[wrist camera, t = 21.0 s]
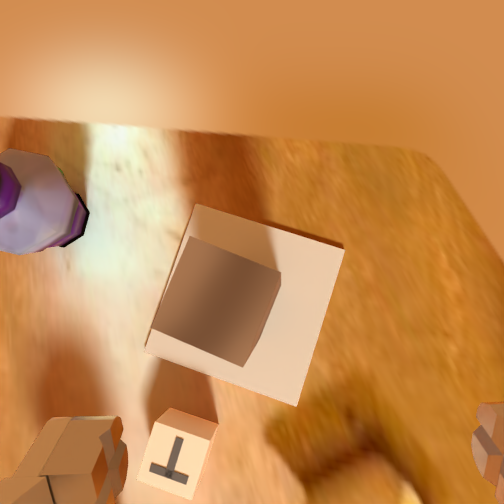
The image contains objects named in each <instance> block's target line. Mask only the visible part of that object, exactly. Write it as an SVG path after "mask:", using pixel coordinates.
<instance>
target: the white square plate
mask: <svg viewBox="0 0 504 504" xmlns="http://www.w3.org/2000/svg"><path fill="white" fill-rule="evenodd" d="M189 236H192V237H194V238H197V239H199V240H202V241H204V242H207V243H209V244H212V245H214V246H217V247H219V248H222V249H224V250H227V251H229V252H232V253H234V254H237V255H239V256H242V257H244V258H247V259H249V260H252V261H254V262H257V263H259V264H261V265H264V266H266V267H269V268H271V269H274V270H276V271H279V272H281V287H280V290H279V292H278V295H277V297H276V300H275V302H274V305H273V307H272V310H271V312H270V315H269V317H268V320H267V322H266V325H265V327H264V330H263V332H262V335H261V337H260V339H259V341H258V343H257V345H256V346H255V348H254V350H253V351H252V353H251V355H250V357H249V358H248V360H247V362H246V364H245V365H244V367H243V368H242V367H240V366H238V365H235V364H233V363H231V362H228V361H226V360H224V359H221V358H219V357H217V356H214V355H212V354H210V353H207V352H205V351H203V350H201V349H198V348H196V347H194V346H191V345H189V344H187V343H184V342H182V341H180V340H177V339H175V338H173V337H170V336H168V335H166V334H164V333H161V332H159V331H157V330H154V329H152V330H151V333H150V336H149V338H148V341H147V344H146V347H145V350H144V352H145V353H148V354H151V355H154V356H156V357H159V358H162V359H165V360H168V361H170V362H173V363H176V364H179V365H181V366H184V367H187V368H190V369H193V370H195V371H198V372H201V373H204V374H207V375H209V376H212V377H215V378H218V379H221V380H223V381H226V382H229V383H232V384H235V385H237V386H240V387H243V388H246V389H249V390H251V391H254V392H257V393H260V394H262V395H265V396H268V397H271V398H274V399H276V400H279V401H282V402H285V403H288V404H290V405H293V406H297V403H298V400H299V397H300V394H301V390H302V387H303V384H304V381H305V378H306V374H307V371H308V368H309V365H310V361H311V358H312V355H313V352H314V349H315V345H316V342H317V339H318V336H319V333H320V329H321V326H322V323H323V320H324V316H325V313H326V310H327V307H328V304H329V300H330V297H331V294H332V291H333V288H334V284H335V281H336V278H337V275H338V271H339V268H340V265H341V262H342V259H343V255H344V252H345V250H344V249H341V248H337V247H334V246H331V245H328V244H325V243H321V242H318V241H315V240H312V239H309V238H305V237H302V236H299V235H296V234H293V233H290V232H286V231H283V230H280V229H277V228H274V227H270V226H267V225H264V224H261V223H258V222H255V221H251V220H248V219H245V218H242V217H239V216H235V215H232V214H229V213H226V212H223V211H219V210H216V209H213V208H210V207H207V206H204V205H200V204H197V203H196V204H195V207H194V210H193V212H192V215H191V218H190V221H189V224H188V227H187V230H186V233H185V235H184V238H183V241H182V244H181V247H180V250H179V253H178V255H177V258H176V261H175V264H174V267H173V270H172V273H171V275H170V278H169V281H168V284H167V287H166V290H167V288H168V286H169V283H170V281H171V279H172V276H173V274H174V272H175V269H176V267H177V264H178V262H179V260H180V257H181V255H182V253H183V250H184V248H185V246H186V243H187V241H188V239H189ZM166 290H165V293H166ZM165 293H164V295H165ZM163 297H164V296H163ZM162 300H163V298H162ZM161 302H162V301H161ZM160 305H161V304H160Z"/></svg>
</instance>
